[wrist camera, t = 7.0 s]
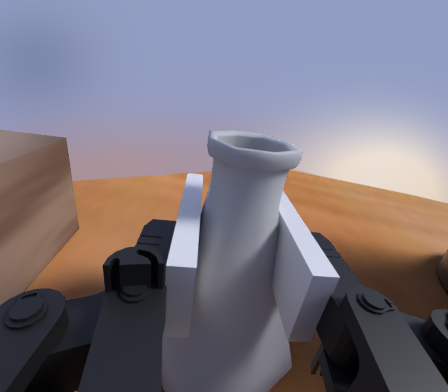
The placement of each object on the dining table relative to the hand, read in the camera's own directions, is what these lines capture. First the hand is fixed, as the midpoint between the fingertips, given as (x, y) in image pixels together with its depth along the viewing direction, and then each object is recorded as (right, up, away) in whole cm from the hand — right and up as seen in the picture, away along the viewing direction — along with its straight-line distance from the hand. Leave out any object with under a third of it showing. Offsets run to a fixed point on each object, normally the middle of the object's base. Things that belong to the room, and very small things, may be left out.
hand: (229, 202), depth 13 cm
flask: (-1, -7, 0) cm, 7 cm away
